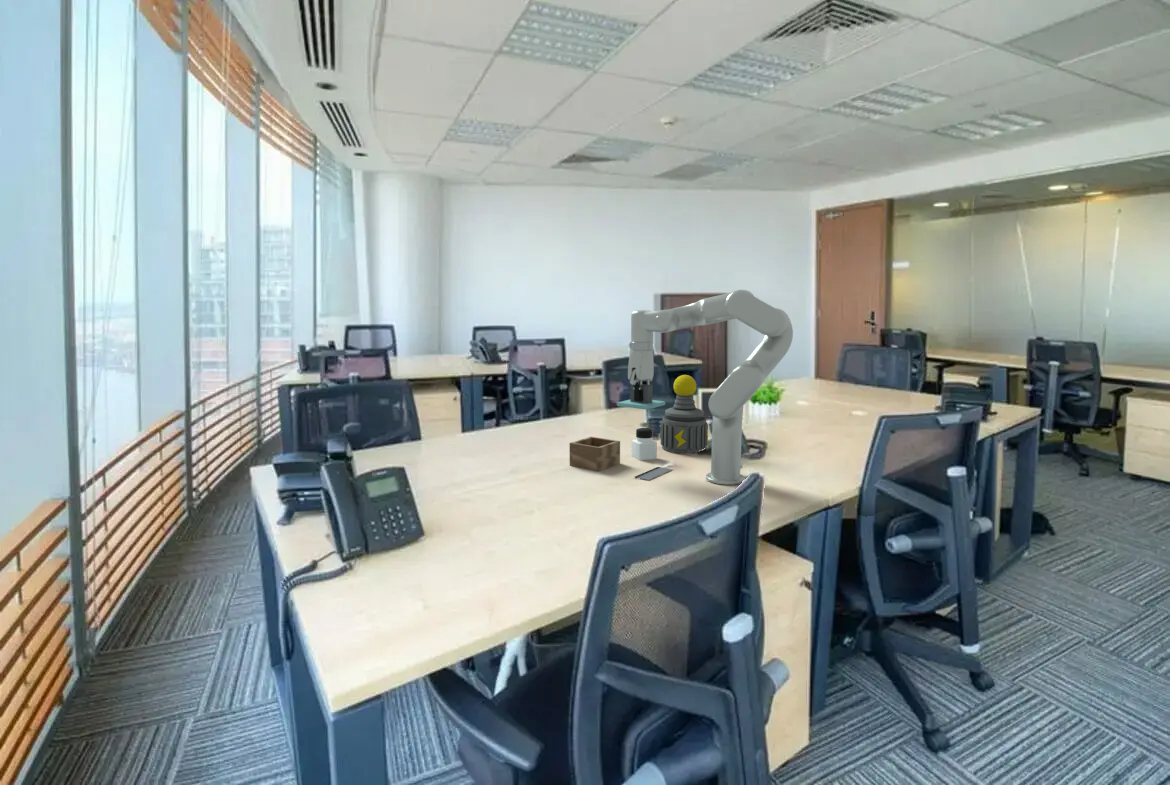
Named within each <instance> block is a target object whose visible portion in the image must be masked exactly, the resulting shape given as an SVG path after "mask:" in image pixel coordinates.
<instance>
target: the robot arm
mask: <svg viewBox="0 0 1170 785" xmlns="http://www.w3.org/2000/svg"><path fill="white" fill-rule="evenodd" d="M630 315H631V317H630V327H631V328H630V352H629V357H628V366H627V379H628V380H629V384H630V385H631V384H632V385H633V389H634V401H643V390H642V384H646V385H651V382H652V381H653V379H654V370H655V368H654V366H655V364H654V352H653V351H654V333H658V334H659V333H661V334H663V333H669V332H674V331H678V330H683V329H688V328H692V327H697V326H707V325H712V324H717V323H721V322H726V321H731V320H735V319H737V321H739V322H741V323H743V324H745V325H746V326H748V327H750V328H751V329H753V330H755V331H757V332H758V333H760V334H762V335H763V336H764V337H763V339H762V340H761V341H760V342H759V344H758V345H757V346H756V347H755V348H754V350H753V351H752V352H751V353H750V354H749V356H748V357H746V358H745V360H744V361H742V362H741V363H739V364H738V365H737V366H736V367H735V368H733V370H732V371H731V372H730V373H729V374H728V375H727V377H725V379H724V380H723V382H722V383H721V384H720V385H719V386H718V387H717V388H716V389H715V391H714V392H713V393H712V394H711V395H710V397H709V399H708V410H709V411H710V413H711V415H712V423H711V424H712V426H711V452H710V453H711V454H710V455H711V456H710V457H711V460H710V461H711V463H710V472H709V473H707V474H706V476H705V478H706V481H708V482H710V483H713V484H719V485H727V486H730V485H732V486H735V485H741V484H742V483H741V482H742V481H743V480H744V479H746V477H745V476H744V475H743V474H741V469H743V464H742V463H741V462H742V461H741V460H742V459H741V458H742V435H743V434H742V433H743V418H744V417H743V416H744V406H745V405H746V404H747V402H748V401H749V400H750V399H751V398H752V397H753V396H754V394H756V392H757V391H758V390H760V388H761V386H762V385H763V383H764V381H765V380H766V378H767V377H768V376H769V375H770V374H771V372H772V371H774V369H775V368H776V367H777V366H778V364H780V362H781V361H782V360H783V358H785V356H786V355H787V353H788V351H789V350H790V348H791V346H792V343H793V337H794V331H793V330H794V329H793V324H792V321H791V319H790V317H789V315H788V314H787V313H786V312H785V311H784V310H783V309H781V308H777V307H773V306H772V305H770V304H768V303H767V302H765V301H763V300H761V299H759V298H758V297H756V296H754V294H753V293H752V292H751V291H749V290H747V289H737V290H734V291H731V292H727V293H723V294H720V295H714V296H711V297H706V298H702V299H699V300H698V301H696V302H693V303H690V304H687V305H683V306H677V307H674V308H670V309H669V308H668V309H659V310H653V311H652V310H646V309H645V310H644V309H641V310H640V309H639V310H636V309H635V310H633V311H632V312H631V314H630Z"/></svg>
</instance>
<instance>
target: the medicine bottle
mask: <svg viewBox="0 0 1170 785" xmlns="http://www.w3.org/2000/svg"><path fill="white" fill-rule="evenodd" d="M635 438H636V439H632V440H631V457H632V458H634V459H636V460H638V461H650V460H656V459H657V456H658V455H657V454H658V452H657V450H658V448H657V447H658V446H657V445H658V444H657V441H654V440H653V429H652V428H651V427H646V426H644V427H643V426H642V427H639V428H636V430H635Z"/></svg>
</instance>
